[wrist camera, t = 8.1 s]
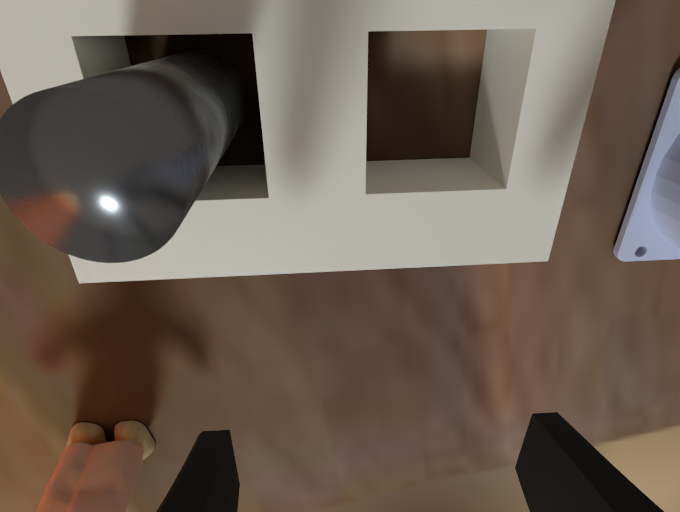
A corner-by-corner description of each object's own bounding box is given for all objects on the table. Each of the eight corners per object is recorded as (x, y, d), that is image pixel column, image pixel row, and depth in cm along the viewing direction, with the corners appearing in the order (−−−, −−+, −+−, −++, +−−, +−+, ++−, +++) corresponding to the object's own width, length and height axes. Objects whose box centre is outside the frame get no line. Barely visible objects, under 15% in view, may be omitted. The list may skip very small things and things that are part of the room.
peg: (247, 53, 14) (177, 95, 6) (249, 142, 16) (193, 266, 8) (155, 45, 14) (-38, 80, 6) (165, 137, 15) (20, 260, 8)
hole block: (565, -76, 13) (642, -105, 10) (507, 220, 18) (547, 261, 15) (27, -75, 12) (-65, -105, 9) (119, 236, 17) (79, 283, 14)
